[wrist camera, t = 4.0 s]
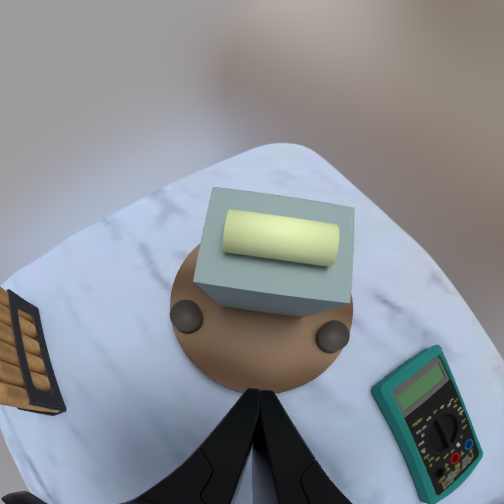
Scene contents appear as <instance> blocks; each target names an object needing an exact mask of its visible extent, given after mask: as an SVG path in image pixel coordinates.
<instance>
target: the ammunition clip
mask: <svg viewBox="0 0 504 504" xmlns="http://www.w3.org/2000/svg"><path fill="white" fill-rule="evenodd" d="M0 404H2V405H7V406H12V407H17V409H20V410H24V411H29V412H34V413H39V414H45V415H51V416H55V415H57V414H60V413H62V412H65V411H66V406H65V404H64V401H63V398H62V396H61V393H60V390H59V387H58V384H57V381H56V378H55V375H54V371H53V368H52V365H51V361H50V358H49V354H48V350H47V346H46V342H45V338H44V334H43V330H42V325H41V320H40V315H39V310H38V308H37V307H35V306H33V305H32V304H30V303H29V302H27V301H26V300H24V299H23V298H21V297H20V296H18V295H17V294H15V293H14V292H12V291H11V290H10V289H8V290H7V291H5V290H4V289H3V288H1V287H0Z"/></svg>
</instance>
